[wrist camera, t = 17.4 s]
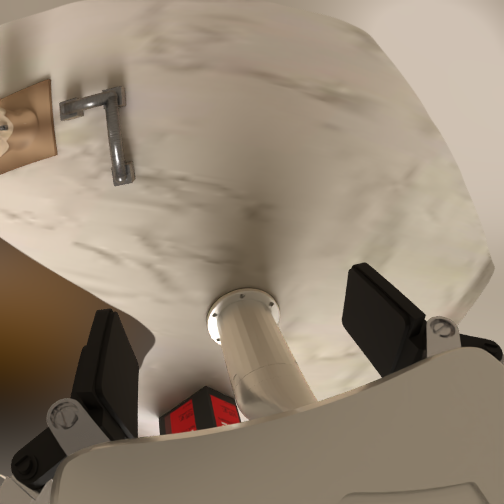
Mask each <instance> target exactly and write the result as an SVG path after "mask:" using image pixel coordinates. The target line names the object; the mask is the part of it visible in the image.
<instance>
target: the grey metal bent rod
mask: <svg viewBox="0 0 504 504" xmlns="http://www.w3.org/2000/svg"><path fill="white" fill-rule="evenodd" d="M102 91H103V92H102V93H98V94H95V95H91V96H87V97H83V98H73V99H70V100H67V101H64V102H60V103H59V105H60V117H61V121H65V120H71V119H75V118H78V117H82V116H84V113H83V110H86V109H90V108H94V107H98V106H102V105H104V109H105V111H106V121H107V130H108V139H109V146H110V154H111V160H112V168H111V170H112V176H113V182H114V186H119V185H124V184H129V183H133V181H134V180H135V175H134V168H133V161H132V162H127V163H125V160H124V153H123V145H122V137H121V129H120V119H119V108H118V107H123V106H126V97H125V88H123V87H122V86H120V87H115V88H111V89H106V90H102Z"/></svg>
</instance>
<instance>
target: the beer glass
mask: <svg viewBox="0 0 504 504" xmlns="http://www.w3.org/2000/svg"><path fill="white" fill-rule="evenodd" d="M37 133H38V119H37V116H36V114H35V113H34V112H33V111H32V110H30V109H28V108H21V109H17V110H15V111H10V110H7V109H5V108H2V107H0V157H2V156H3V155H5V154H6V153H8V152H9V151H23V150H25V149H27V148H28V147H30V146H31V145H32V143H33V142H34V140H35V138H36V136H37Z"/></svg>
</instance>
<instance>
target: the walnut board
mask: <svg viewBox="0 0 504 504" xmlns="http://www.w3.org/2000/svg"><path fill="white" fill-rule="evenodd" d="M0 107H2V108H5V109H7V110H10V111H15V110H17V109H21V108H28V109H30V110H32V111H33V112H34V113H35V114H36V116H37V119H38V133H37V136H36V138H35V140H34V142H33V143H32V145H31V146H30V147H28V148H27V149H25V150H23V151H9V152H8V153H6V154H5V155H3V156H2V157H0V175H1V174H3V173H6V172H8V171H11V170H14V169H16V168H19V167H22V166H25V165H28V164H31V163H34V162H37V161H40V160H43V159H46V158H49V157H52V156H56V155H58V154H57V148H56V140H55V132H54V123H53V112H52V99H51V80H50V79H47V80H45V81H42V82H39V83H37V84H34V85H32V86H29V87H27V88H25V89H22V90H20V91H18V92H15V93H13V94H11V95H9V96H7V97H5V98H3V99H1V100H0Z"/></svg>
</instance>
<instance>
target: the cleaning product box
mask: <svg viewBox="0 0 504 504" xmlns="http://www.w3.org/2000/svg"><path fill="white" fill-rule="evenodd" d="M240 422H241V419H240V416H239V412H238V409H237V405H236V402H235V399H232V398H230V397H228V396H226V395H224V394H222V393H220V392H217V391H215V390H213V389H211V388H209V387H207V386H205V387H204V388H202V389H201V390H200V391H198V392H197V393H195V394H194V395H193V396H191V397H190V398H188V399H187V400H185V401H184V402H182V403H181V404H180V405H178V406H177V407H175V408H174V409H172V410H171V411H169V412H168V413H166V414H165V415H163V416H162V417H160V418H159V428H160V435H168V434H176V433H183V432H190V431H197V430H203V429H209V428H215V427H220V426H226V425H231V424H236V423H240Z"/></svg>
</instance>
